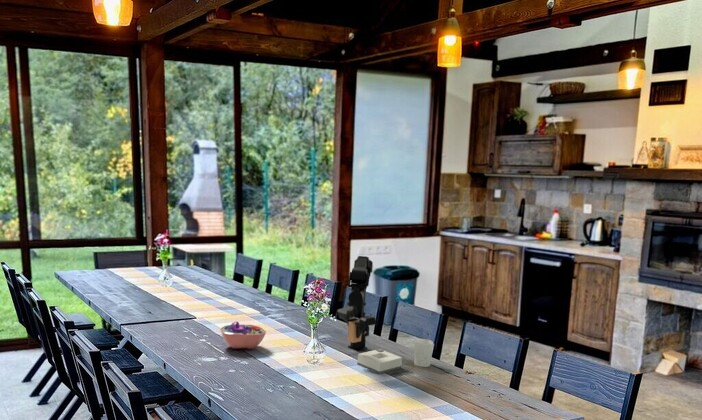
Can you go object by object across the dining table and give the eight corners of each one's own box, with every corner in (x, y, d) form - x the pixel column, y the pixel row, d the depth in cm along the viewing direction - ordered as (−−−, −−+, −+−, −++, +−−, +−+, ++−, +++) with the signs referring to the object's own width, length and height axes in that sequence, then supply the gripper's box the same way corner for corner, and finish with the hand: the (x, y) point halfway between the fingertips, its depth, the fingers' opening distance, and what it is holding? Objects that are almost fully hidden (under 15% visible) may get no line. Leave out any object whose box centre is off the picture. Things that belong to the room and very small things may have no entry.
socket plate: (357, 364, 228) (358, 352, 228) (379, 359, 237) (379, 347, 237) (379, 374, 219) (380, 361, 218) (401, 368, 227) (402, 356, 227)
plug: (347, 340, 228) (348, 321, 227) (355, 338, 230) (356, 320, 230) (352, 342, 225) (354, 323, 224) (361, 341, 228) (362, 322, 227)
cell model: (256, 356, 229) (258, 330, 229) (212, 350, 233) (213, 324, 233) (270, 345, 246) (271, 320, 245) (228, 339, 250) (230, 315, 249)
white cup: (417, 367, 229) (418, 344, 229) (410, 361, 237) (411, 338, 236) (434, 367, 231) (436, 344, 231) (426, 361, 239) (428, 338, 238)
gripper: (328, 297, 228) (325, 333, 229) (357, 306, 214) (354, 346, 215) (348, 294, 236) (345, 330, 237) (378, 304, 222) (375, 341, 223)
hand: (354, 336), depth 228 cm, fingers closed on plug, 3 cm apart
